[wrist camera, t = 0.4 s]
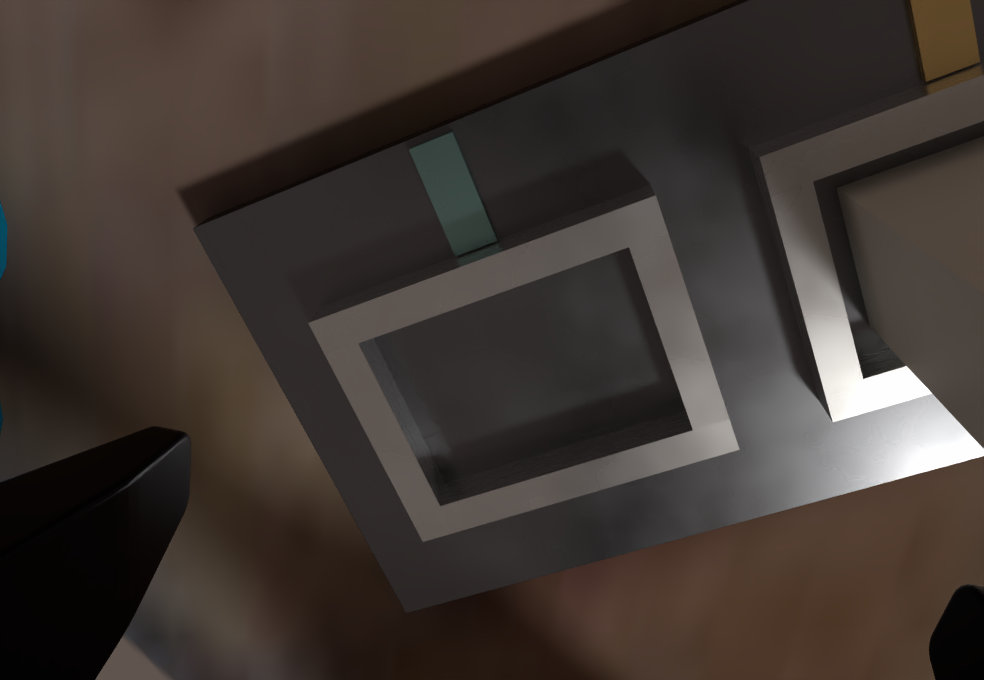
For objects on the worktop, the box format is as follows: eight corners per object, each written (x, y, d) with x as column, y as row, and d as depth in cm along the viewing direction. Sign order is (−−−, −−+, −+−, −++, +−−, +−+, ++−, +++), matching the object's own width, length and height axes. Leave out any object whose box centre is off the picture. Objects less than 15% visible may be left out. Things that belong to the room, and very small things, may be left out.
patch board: (1189, 375, 22) (1251, 414, 20) (411, 592, 28) (400, 639, 26) (1141, -166, 18) (1218, -186, 16) (207, 218, 23) (173, 241, 21)
